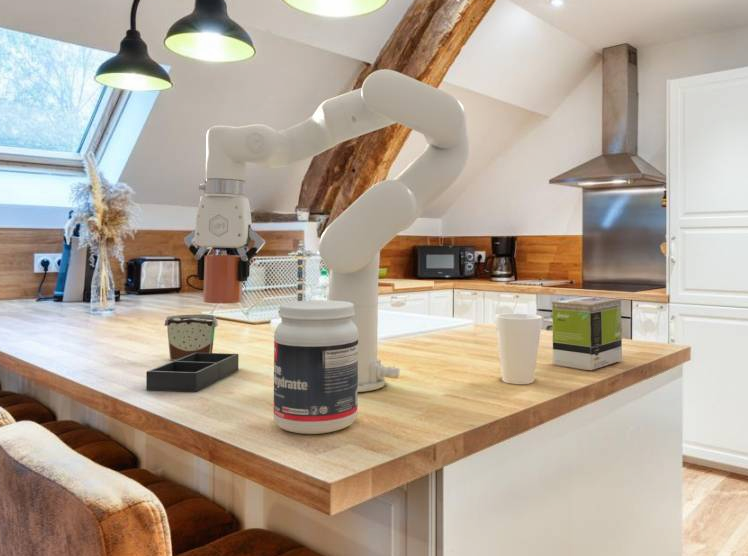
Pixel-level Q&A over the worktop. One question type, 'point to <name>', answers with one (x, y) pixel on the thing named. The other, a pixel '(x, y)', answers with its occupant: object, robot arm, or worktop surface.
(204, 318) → the food container
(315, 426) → the supplement tub
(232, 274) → the cup
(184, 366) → the holder
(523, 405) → the worktop surface
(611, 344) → the tea box
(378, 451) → the worktop surface
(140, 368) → the worktop surface
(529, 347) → the foam cup
